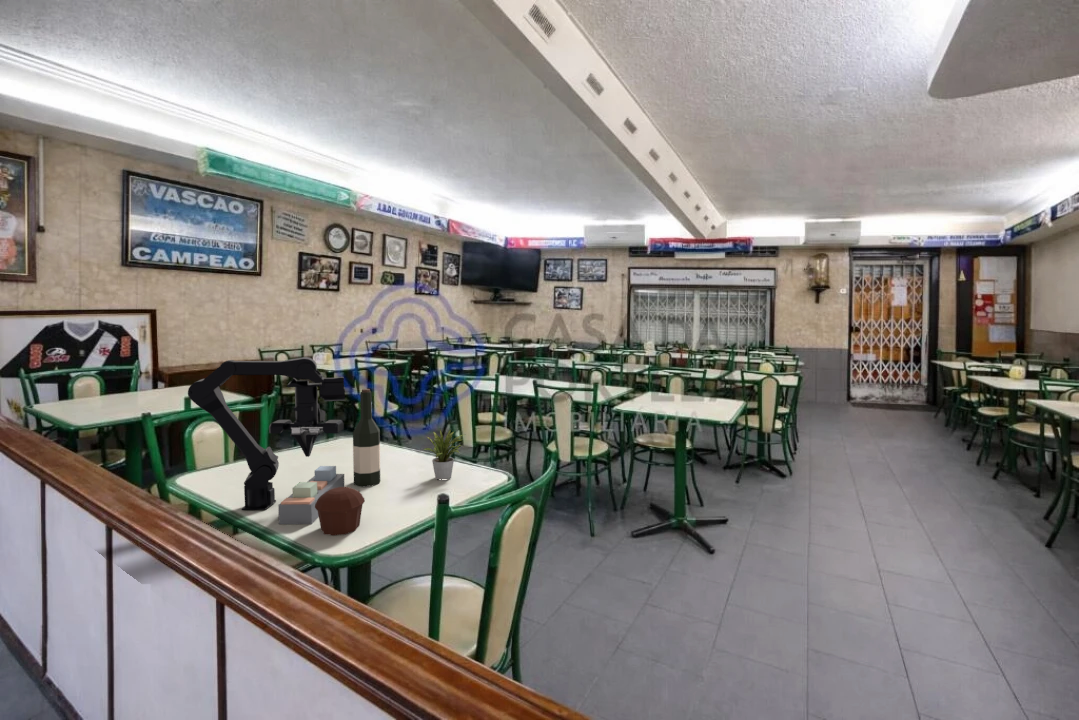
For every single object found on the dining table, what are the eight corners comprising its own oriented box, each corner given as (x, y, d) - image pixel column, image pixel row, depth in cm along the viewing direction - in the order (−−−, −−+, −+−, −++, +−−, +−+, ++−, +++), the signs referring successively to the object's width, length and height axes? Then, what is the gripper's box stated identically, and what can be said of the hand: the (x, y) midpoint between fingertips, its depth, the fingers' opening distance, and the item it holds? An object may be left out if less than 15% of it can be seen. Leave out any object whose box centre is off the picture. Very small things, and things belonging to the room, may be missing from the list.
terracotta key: (304, 498, 142) (304, 486, 142) (311, 493, 147) (310, 481, 147) (321, 498, 143) (321, 486, 142) (327, 492, 147) (327, 481, 147)
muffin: (321, 542, 121) (320, 500, 120) (310, 526, 130) (309, 487, 129) (371, 530, 128) (370, 491, 127) (358, 515, 137) (357, 479, 136)
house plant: (462, 486, 161) (462, 435, 160) (418, 486, 161) (417, 435, 160) (468, 472, 175) (468, 425, 174) (427, 472, 175) (427, 425, 174)
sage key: (292, 500, 135) (292, 487, 135) (300, 494, 139) (299, 482, 139) (310, 500, 135) (310, 487, 135) (317, 494, 140) (317, 482, 139)
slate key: (314, 482, 150) (314, 470, 149) (320, 477, 154) (320, 465, 154) (330, 482, 150) (330, 470, 150) (336, 477, 155) (336, 465, 154)
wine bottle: (372, 487, 159) (371, 391, 156) (348, 485, 161) (346, 390, 158) (385, 479, 167) (384, 388, 165) (362, 477, 169) (360, 387, 166)
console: (278, 524, 131) (278, 502, 130) (317, 489, 156) (316, 472, 156) (311, 523, 131) (311, 502, 131) (344, 489, 157) (344, 471, 156)
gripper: (349, 397, 153) (350, 448, 155) (285, 397, 152) (286, 449, 154) (336, 404, 142) (337, 459, 144) (267, 403, 141) (269, 459, 143)
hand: (308, 456), depth 146 cm, fingers closed
